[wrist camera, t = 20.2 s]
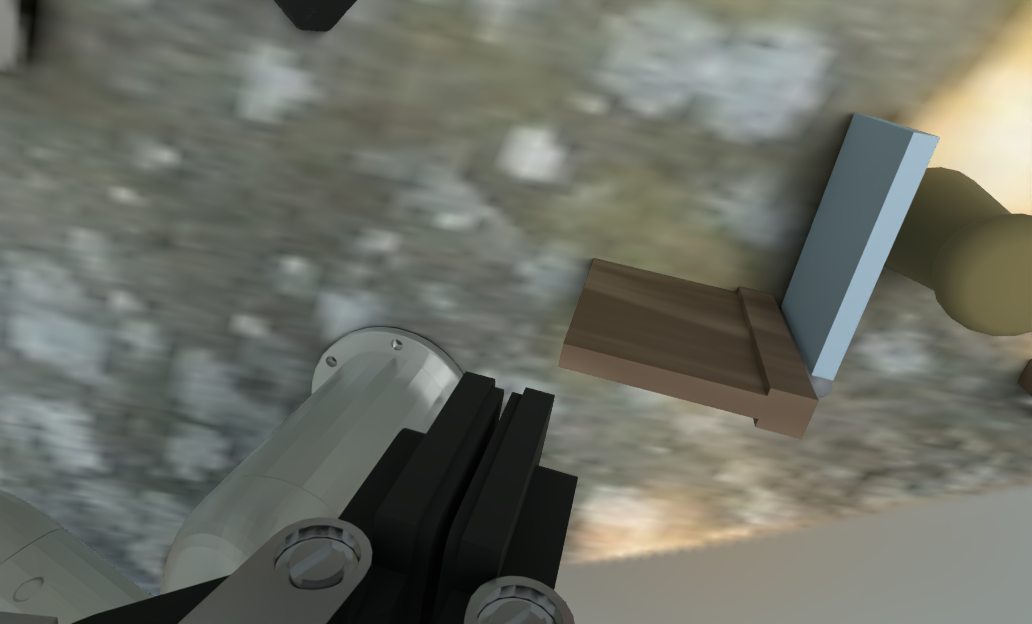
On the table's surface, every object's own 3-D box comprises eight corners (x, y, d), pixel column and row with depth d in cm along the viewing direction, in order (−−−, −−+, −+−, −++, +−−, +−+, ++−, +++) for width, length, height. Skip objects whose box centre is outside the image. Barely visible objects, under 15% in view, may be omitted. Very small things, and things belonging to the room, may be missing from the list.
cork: (842, 248, 37) (908, 321, 27) (905, 149, 34) (1004, 190, 24) (942, 290, 36) (1045, 380, 26) (1013, 193, 34) (1158, 252, 24)
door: (876, 117, 34) (942, 137, 25) (793, 327, 39) (826, 400, 30) (852, 112, 34) (911, 131, 26) (773, 322, 39) (801, 394, 31)
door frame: (1044, 392, 37) (1218, 549, 25) (588, 281, 41) (556, 374, 29) (1062, 363, 36) (1250, 511, 25) (595, 252, 40) (565, 335, 28)
